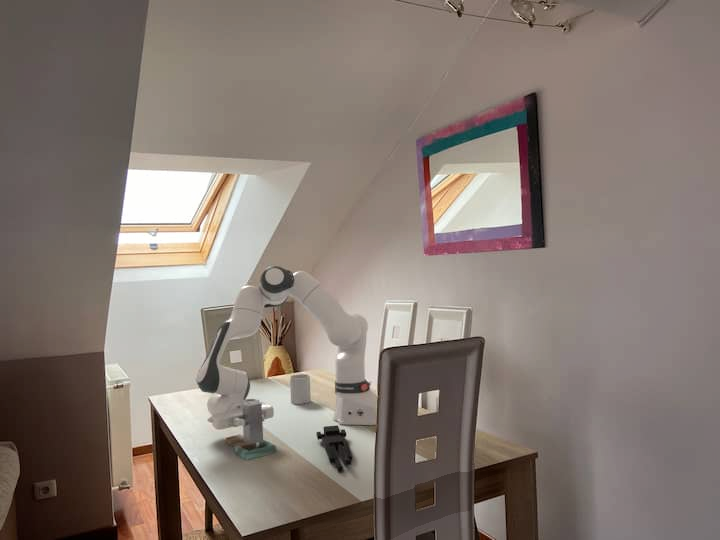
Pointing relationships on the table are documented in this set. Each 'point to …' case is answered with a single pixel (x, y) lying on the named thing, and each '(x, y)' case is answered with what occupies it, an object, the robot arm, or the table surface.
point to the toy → (336, 445)
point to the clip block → (253, 422)
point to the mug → (300, 389)
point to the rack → (250, 447)
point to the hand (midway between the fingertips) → (254, 421)
